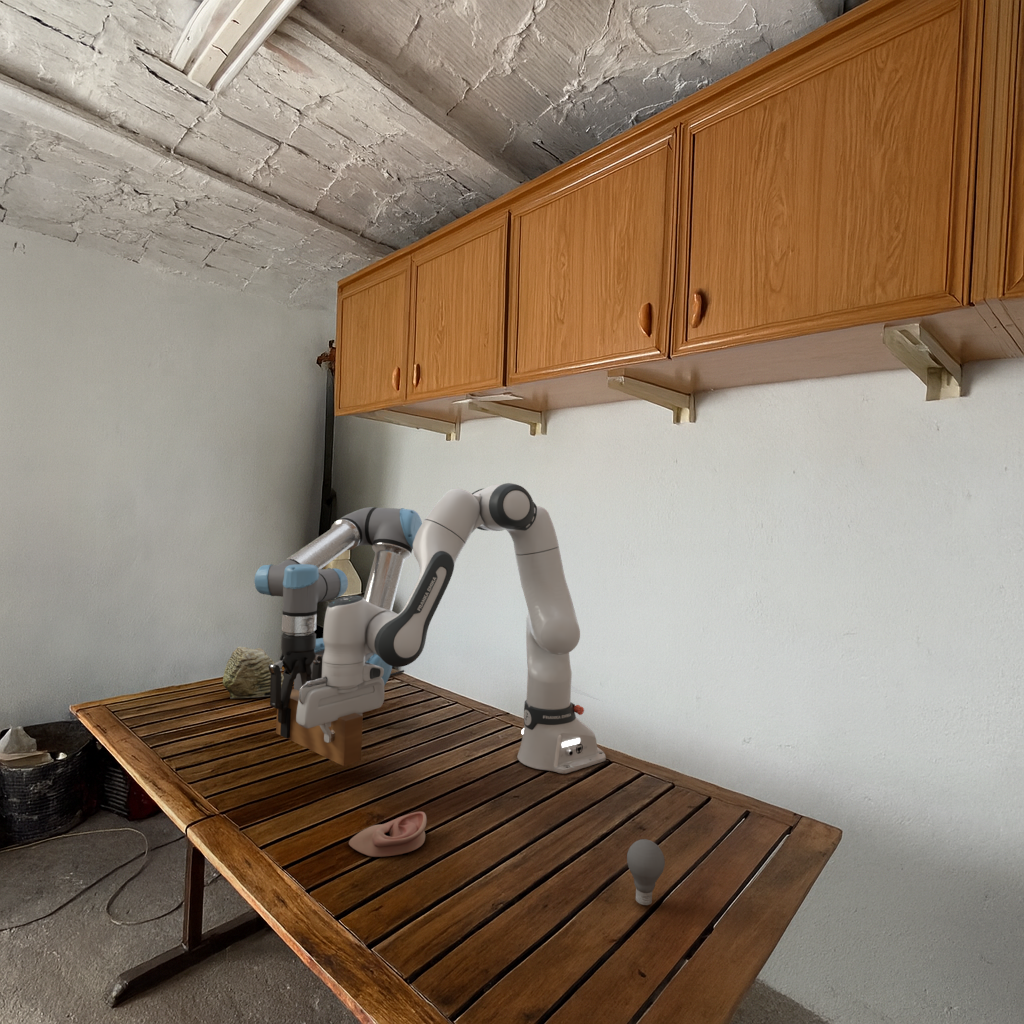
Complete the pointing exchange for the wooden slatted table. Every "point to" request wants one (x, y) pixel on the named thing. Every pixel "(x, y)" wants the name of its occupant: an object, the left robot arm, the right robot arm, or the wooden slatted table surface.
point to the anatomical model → (392, 836)
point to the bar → (339, 750)
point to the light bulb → (645, 868)
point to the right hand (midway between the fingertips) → (340, 737)
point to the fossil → (248, 673)
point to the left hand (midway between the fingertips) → (295, 733)
